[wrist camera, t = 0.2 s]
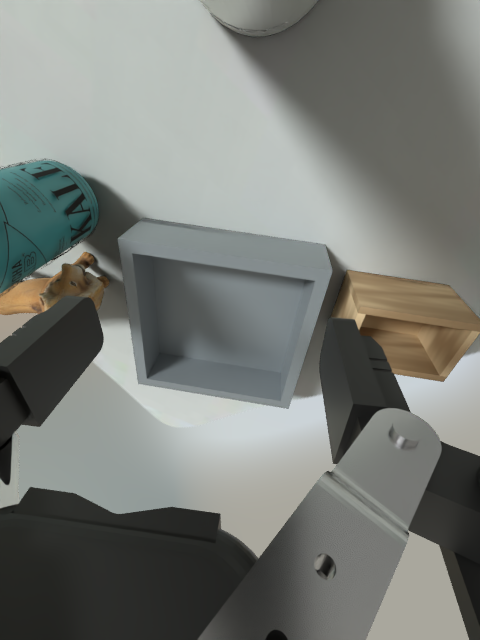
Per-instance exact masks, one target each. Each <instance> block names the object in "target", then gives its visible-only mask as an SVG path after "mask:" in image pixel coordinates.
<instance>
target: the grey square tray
mask: <svg viewBox="0 0 480 640" xmlns="http://www.w3.org/2000/svg"><path fill="white" fill-rule="evenodd" d="M118 245H119V252H120V259H121V266H122V273H123V280H124V287H125V294H126V301H127V308H128V315H129V322H130V329H131V336H132V343H133V350H134V357H135V364H136V371H137V378H138V384H143V385H149V386H155V387H161V388H167V389H173V390H179V391H185V392H191V393H197V394H203V395H209V396H215V397H221V398H227V399H233V400H239V401H245V402H251V403H257V404H263V405H269V406H275V407H281V408H287V409H288V408H289V406H290V402H291V399H292V396H293V393H294V390H295V387H296V384H297V381H298V378H299V374H300V371H301V368H302V365H303V362H304V359H305V356H306V353H307V349H308V346H309V343H310V340H311V337H312V334H313V331H314V328H315V325H316V321H317V318H318V315H319V312H320V309H321V306H322V303H323V300H324V296H325V293H326V290H327V287H328V284H329V281H330V278H331V275H332V271H333V270H332V267H331V263H330V260H329V256H328V253H327V249H326V245H324V244H318V243H311V242H304V241H297V240H290V239H284V238H277V237H270V236H263V235H256V234H250V233H243V232H236V231H229V230H222V229H215V228H209V227H202V226H195V225H188V224H181V223H175V222H168V221H161V220H154V219H147V218H142V219H141V220H140V221H139V222H137V223H136V224H135V225H134V226H133V227H131V228H130V229H129V230H128V231H126V232H125V233H124V234H123V235H121V236H120V237H119V238H118Z"/></svg>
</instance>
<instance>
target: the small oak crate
mask: <svg viewBox="0 0 480 640" xmlns="http://www.w3.org/2000/svg"><path fill="white" fill-rule="evenodd" d="M331 317H333V318H345V319H354V320H355V321H356V324H357V327H358V329H359V332H360V335H362V336H371V337H372V338H373V339H374V340H375V341H376V342H377V343H378V344H379V345H380V346H381V347H382V348H383V351H384V353H385V355H386V357H387V362H389V364H390V366H391V369H392V372H393V373H394V374H398V375H404V376H410V377H417V378H423V379H429V380H435V381H441V382H444V380H445V379H446V378H447V376H448V375H449V374H450V372H451V371H452V370H453V368H454V367H455V365H456V364H457V363H458V362H459V360H460V359H461V358H462V356H463V355H464V354H465V352H466V351H467V350H468V348H469V347H470V346H471V344H472V343H473V342H474V340H475V339H476V338H477V336H478V335H479V334H480V319H479V318H478V317H477V316H476V315H475V314H474V312H473V311H472V310H471V309H470V308H469V307H468V306H467V305H466V304H465V302H464V301H463V300H462V299H461V298H460V297H459V296H458V295H457V294H456V292H455V291H454V290H453V289H452V288H451V287H450V286H449V285H445V284H438V283H431V282H425V281H418V280H411V279H405V278H398V277H391V276H385V275H378V274H371V273H364V272H358V271H351V270H347V271H346V274H345V277H344V280H343V283H342V286H341V289H340V291H339V294H338V297H337V300H336V303H335V306H334V308H333V311H332V314H331Z"/></svg>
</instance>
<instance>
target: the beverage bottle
mask: <svg viewBox="0 0 480 640" xmlns="http://www.w3.org/2000/svg"><path fill="white" fill-rule="evenodd" d="M43 160H45V159H43ZM49 160H50V159H49ZM30 161H34V162H33V163H31V162H30ZM30 161H29V164H26V163H25V164H23V165H22V162H21V163H19V164H20V165H15V166H14V167H12V166H11V165H10V166H11V167H10V168H8V167H9V166H8V167H6V169H3V168H1V170H0V294H1V293H2V292H4V291H5V290H7V289H8V288H11V289H13V288H14V287H16V286H17V285H18V284H19V283H17V282H19V281H20V280H21V281H22V279H23V278H25V277H26V276H29V274H30V275H31V273H32V272H34V271H35V270H37V269H38V268H40V267H41V266H43V265H44V264H47V262H49V261H50V260H52V261H53V260H55V259H56V258H58V257H60V256H61V255H64V253H62V252H64V251H65V250H67V249H68V248H70V247H71V248H73V247H74V246H73V245H74V244H76V243H77V242H78V243H79V241H80V240H83V238H85V237H86V236H88V235H89V234H90V233H92V231H93V230H94V228H95V226H97V222H98V217H99V209H98V203H97V200H96V197H95V195H94V193H93V191H92V189H91V187H90V186H89V184H88V183H87V182H86V181H85V179H84V178H83V177H82V176H81V175H80V174H78V173H77V172H76V171H75V170H73V169H72V168H70V167H68V166H66V165H64V164H61V163H59V162H57V161H56V162H54V160H53V161H40V160H39V161H38V162H36V161H37V160H36V159H35V160H30ZM25 162H26V161H25ZM2 167H3V166H2ZM4 168H5V167H4ZM92 234H93V233H92ZM90 235H91V234H90ZM90 235H89V236H90ZM89 236H88V237H89ZM82 242H83V241H82ZM78 243H77V244H76V245H78ZM80 243H81V242H80ZM71 248H70V249H69V250H71ZM69 250H68V251H69ZM68 251H67V252H68ZM67 252H65V253H67ZM61 253H62V254H61ZM60 254H61V255H60ZM58 255H60V256H58ZM56 256H58V257H56ZM55 257H56V258H55ZM53 258H54V259H53ZM49 264H50V263H49ZM49 264H48V265H49ZM46 266H47V265H46ZM44 267H45V266H44ZM27 278H28V277H27ZM25 279H26V278H25ZM21 281H20V282H21ZM22 282H24V281H22ZM16 283H17V285H16ZM14 284H15V285H16V286H15V285H14ZM20 284H21V283H20ZM13 285H14V286H13ZM12 286H13V287H12ZM11 289H8V292H9V290H11ZM5 292H6V291H5ZM8 292H7V293H8ZM5 294H6V293H4V295H5ZM1 295H2V296H3V293H2V294H1ZM1 295H0V296H1ZM2 296H1V297H2Z"/></svg>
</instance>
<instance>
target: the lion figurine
mask: <svg viewBox="0 0 480 640" xmlns="http://www.w3.org/2000/svg"><path fill="white" fill-rule="evenodd" d="M93 263H94V257H93V256H92V255H91V254H89V253H87V252H84V253H83V254H82V256H81V257H80V258H79V259H78V260H77V261H76V262H75V263H73V264H71V265H70V264H63V265H62V271H60V272H59V273H58V274H56V275H55V276H53V277H52V278H38V279H31V280H27V281H24V282H21V284H20V283H19V282H17V283H19V284H18V285H17V283H16V285H17V286H16V285H15V284H14V285H15V286H16V287H14V288H13V289H11V288H8V289H11V290H9V292H8V289H7V290H5V291H6V292H5V291H4V292H2V293H3V296H2V295H1V294H2V293H1V294H0V295H1V296H2V297H1V296H0V314H2V315H11V314H17V313H38V314H40V313H42V312H44V311H46V310H48V309H49V308H51V307H52V306H53V305H54V304H56V303H57V302H58V301H59V300H61V299H62V298H63V297H65V296H78V297H89V298H91V299H92V300H93V302H94V304H95V307H96V311H97V310H98V309H99V307H100V305H101V302H102V298H103V295H104V288H106V287H107V286H108V285H109V280H108V279H107V277H105V276H100V277H96V276H94V275H92V274H91V273H89V272H85V269H86V268H88V267H89V265H91V264H93ZM14 285H13V286H14ZM13 286H12V287H13ZM7 292H8V293H7ZM4 293H6V294H5V295H4Z"/></svg>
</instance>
